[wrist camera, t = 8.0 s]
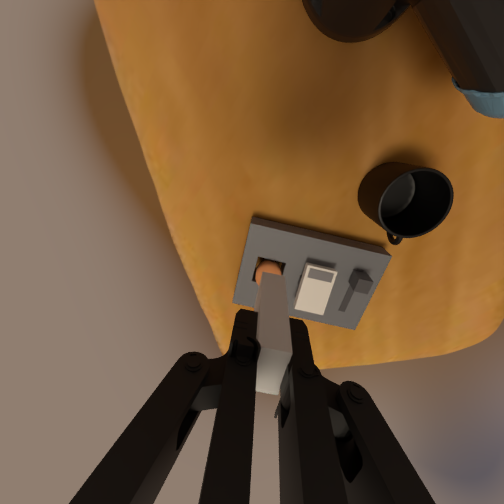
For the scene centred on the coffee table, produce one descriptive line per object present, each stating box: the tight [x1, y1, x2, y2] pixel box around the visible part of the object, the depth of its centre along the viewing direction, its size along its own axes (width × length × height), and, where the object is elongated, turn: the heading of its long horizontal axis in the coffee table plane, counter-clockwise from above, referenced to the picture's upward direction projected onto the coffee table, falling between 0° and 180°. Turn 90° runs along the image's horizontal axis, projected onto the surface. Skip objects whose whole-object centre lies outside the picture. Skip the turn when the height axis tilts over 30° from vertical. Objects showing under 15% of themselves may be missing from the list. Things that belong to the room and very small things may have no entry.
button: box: [255, 258, 281, 286], centre depth 45 cm, size 4×4×6 cm
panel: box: [232, 217, 392, 330], centre depth 46 cm, size 16×24×5 cm, turn 77°
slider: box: [348, 270, 374, 294], centre depth 42 cm, size 2×2×3 cm
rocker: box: [293, 262, 337, 315], centre depth 43 cm, size 8×5×2 cm, turn 167°
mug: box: [358, 162, 453, 245], centre depth 38 cm, size 9×12×9 cm
